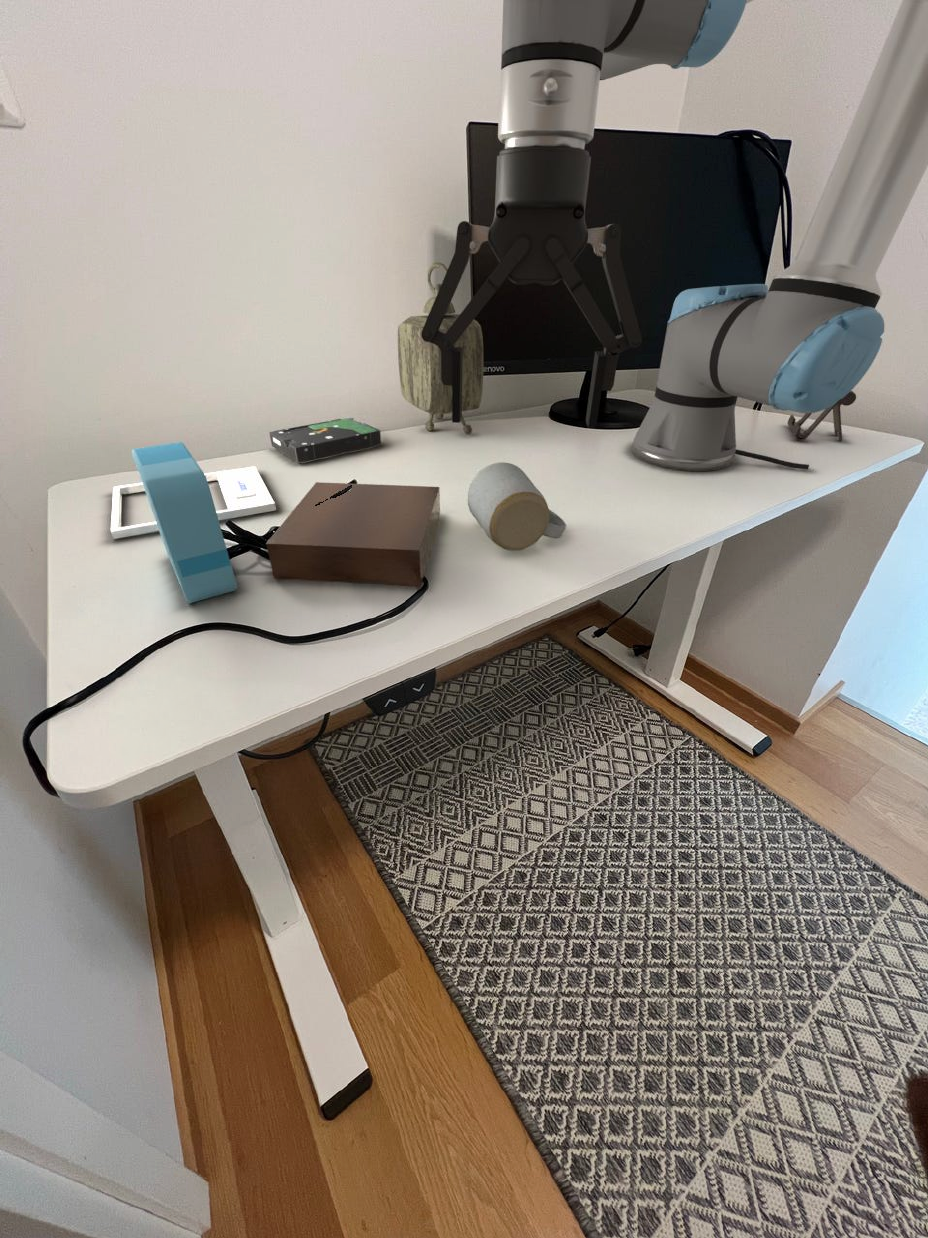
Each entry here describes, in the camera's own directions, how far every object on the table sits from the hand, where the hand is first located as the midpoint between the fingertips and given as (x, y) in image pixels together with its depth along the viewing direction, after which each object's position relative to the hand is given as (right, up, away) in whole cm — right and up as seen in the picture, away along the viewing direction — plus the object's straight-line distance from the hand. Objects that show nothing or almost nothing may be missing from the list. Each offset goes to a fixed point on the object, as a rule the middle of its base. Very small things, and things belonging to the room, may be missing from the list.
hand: (523, 422), depth 55 cm
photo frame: (-41, -5, +15) cm, 44 cm away
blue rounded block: (-33, -16, 0) cm, 36 cm away
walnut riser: (-17, -12, +5) cm, 22 cm away
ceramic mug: (0, -11, +8) cm, 13 cm away
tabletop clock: (-10, +14, +42) cm, 45 cm away
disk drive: (-28, +8, +33) cm, 44 cm away
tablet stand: (+56, +12, +40) cm, 70 cm away
